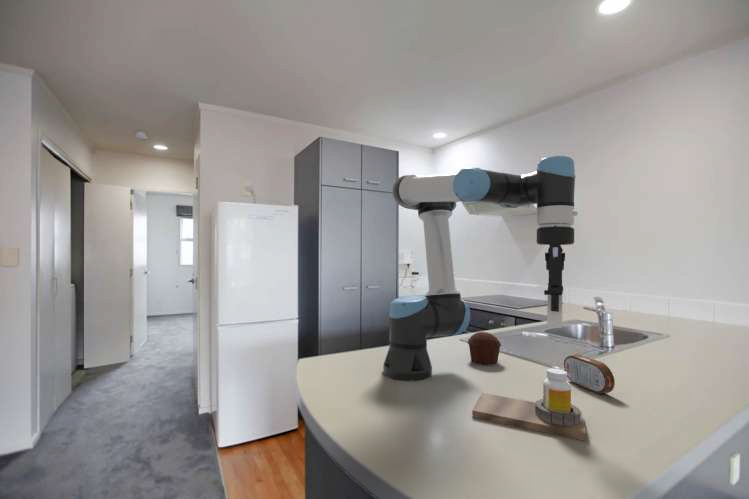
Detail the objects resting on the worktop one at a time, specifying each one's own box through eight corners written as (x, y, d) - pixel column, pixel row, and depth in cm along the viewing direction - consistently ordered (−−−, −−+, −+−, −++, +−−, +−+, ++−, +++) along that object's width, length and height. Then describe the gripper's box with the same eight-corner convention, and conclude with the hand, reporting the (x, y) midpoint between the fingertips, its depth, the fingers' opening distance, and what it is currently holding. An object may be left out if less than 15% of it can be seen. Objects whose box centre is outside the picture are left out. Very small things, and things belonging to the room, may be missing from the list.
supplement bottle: (576, 420, 75) (577, 374, 75) (556, 422, 73) (556, 375, 74) (557, 409, 80) (557, 366, 80) (537, 412, 79) (537, 368, 79)
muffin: (462, 357, 128) (462, 329, 129) (491, 356, 130) (491, 329, 130) (475, 367, 117) (475, 336, 117) (507, 366, 118) (507, 336, 118)
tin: (615, 397, 92) (615, 365, 92) (606, 398, 91) (606, 366, 92) (570, 378, 107) (570, 350, 107) (561, 379, 106) (561, 351, 106)
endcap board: (472, 417, 79) (472, 401, 79) (481, 398, 90) (481, 384, 90) (586, 441, 69) (586, 423, 69) (581, 417, 80) (581, 401, 80)
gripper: (578, 220, 66) (577, 334, 65) (571, 231, 88) (570, 315, 88) (534, 221, 69) (533, 329, 69) (538, 231, 92) (537, 313, 91)
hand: (554, 322), depth 78 cm, fingers open, 13 cm apart
